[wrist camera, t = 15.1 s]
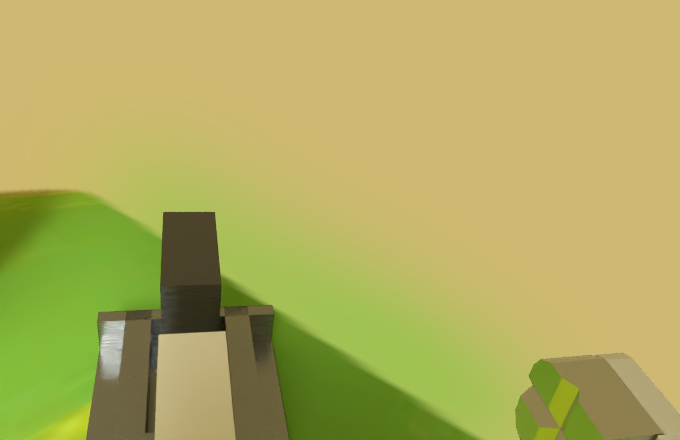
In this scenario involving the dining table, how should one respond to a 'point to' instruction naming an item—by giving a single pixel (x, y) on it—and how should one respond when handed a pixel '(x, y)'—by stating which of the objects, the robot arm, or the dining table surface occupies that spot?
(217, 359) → the beige rectangular block
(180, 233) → the rack
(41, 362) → the dining table surface
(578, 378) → the robot arm
